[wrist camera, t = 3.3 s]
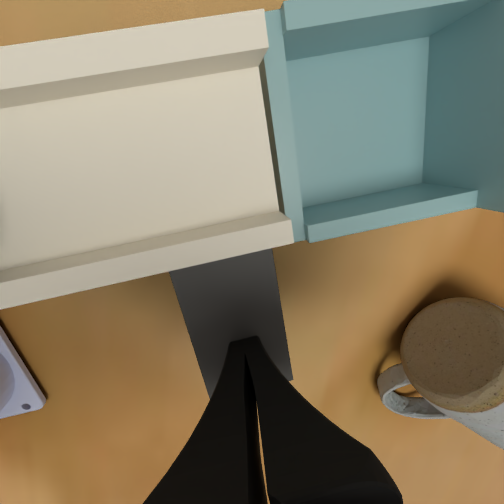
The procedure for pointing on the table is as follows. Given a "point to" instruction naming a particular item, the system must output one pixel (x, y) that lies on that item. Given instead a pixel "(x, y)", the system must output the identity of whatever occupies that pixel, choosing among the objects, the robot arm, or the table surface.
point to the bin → (383, 111)
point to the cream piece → (146, 175)
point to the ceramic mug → (452, 366)
